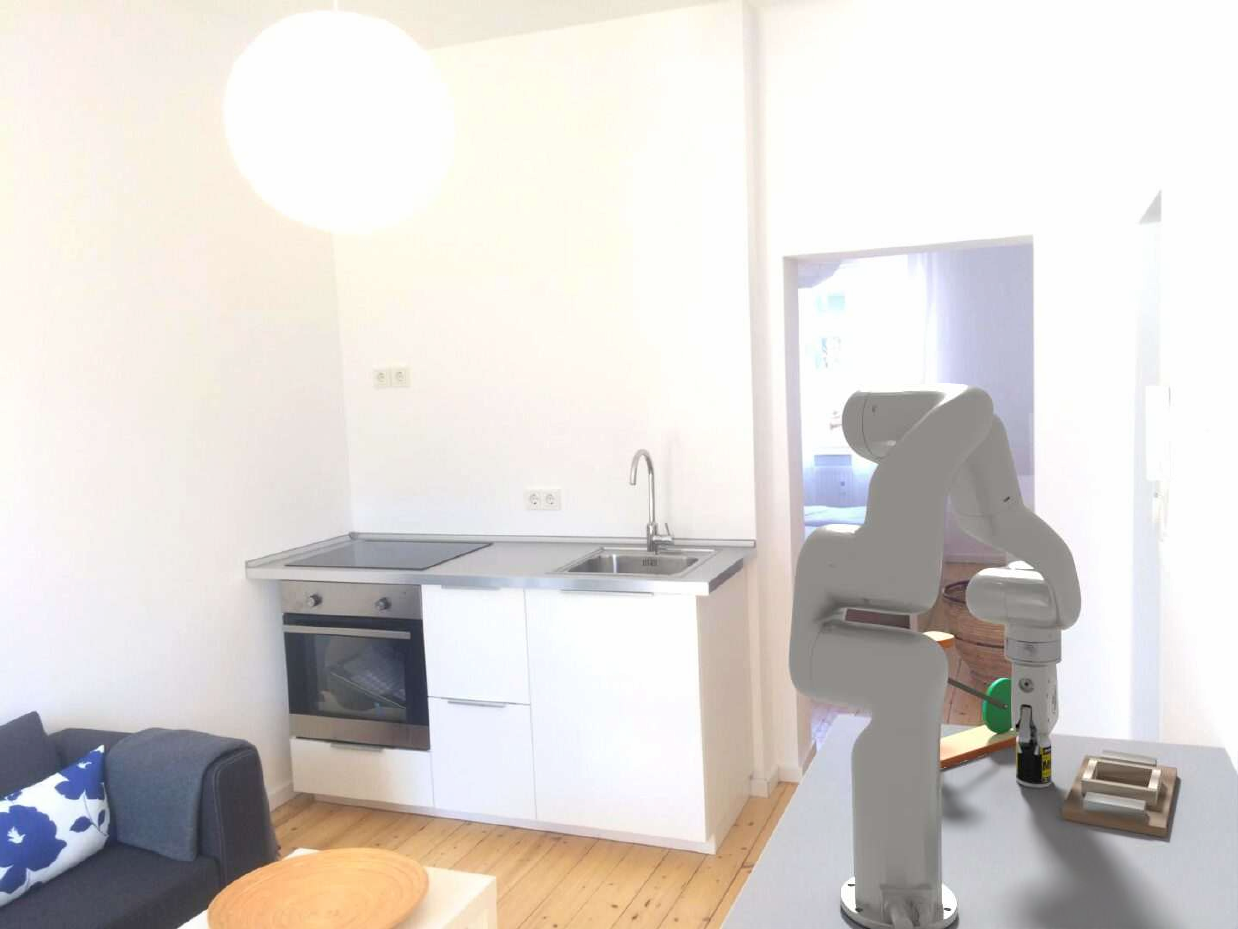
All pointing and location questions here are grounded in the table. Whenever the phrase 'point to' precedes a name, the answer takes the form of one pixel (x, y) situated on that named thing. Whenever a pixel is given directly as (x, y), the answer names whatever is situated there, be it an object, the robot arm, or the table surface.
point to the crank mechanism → (994, 715)
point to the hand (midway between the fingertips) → (1033, 772)
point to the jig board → (1122, 793)
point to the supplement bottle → (1046, 762)
